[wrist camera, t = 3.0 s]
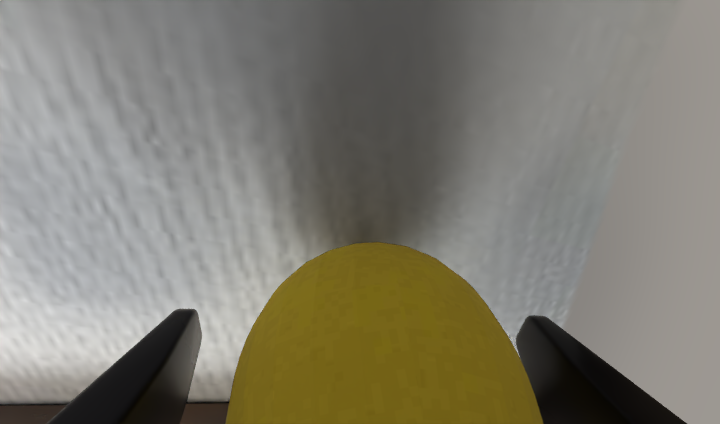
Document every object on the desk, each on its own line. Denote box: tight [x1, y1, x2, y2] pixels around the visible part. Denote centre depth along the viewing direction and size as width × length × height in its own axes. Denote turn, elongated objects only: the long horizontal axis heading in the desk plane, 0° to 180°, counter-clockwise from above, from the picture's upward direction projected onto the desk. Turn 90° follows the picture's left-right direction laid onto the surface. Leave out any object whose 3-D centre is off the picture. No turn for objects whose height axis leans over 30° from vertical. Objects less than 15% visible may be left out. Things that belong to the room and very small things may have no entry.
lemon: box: [225, 242, 543, 424], centre depth 7 cm, size 6×6×8 cm
